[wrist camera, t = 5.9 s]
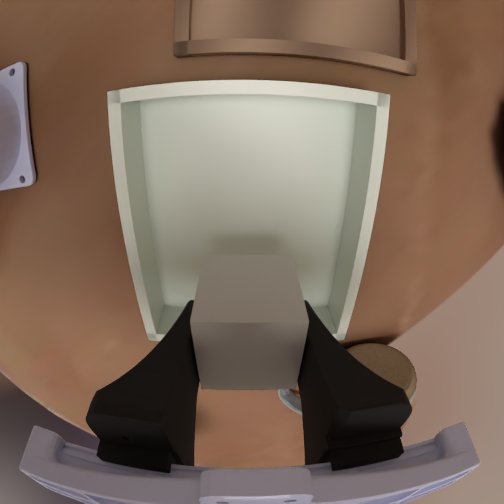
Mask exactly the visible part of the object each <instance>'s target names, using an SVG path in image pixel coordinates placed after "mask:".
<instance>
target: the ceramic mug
mask: <svg viewBox="0 0 504 504" xmlns="http://www.w3.org/2000/svg"><path fill="white" fill-rule="evenodd" d="M346 350H347V351H348V352H349V353H350V354H351V355H352V356H353V357H355V358H356V359H357V360H358V361H359V362H361V363H362V364H363V365H365V366H366V367H367V368H369V369H370V370H371V371H373V372H374V373H376V374H377V375H379V376H380V377H382V378H384V379H385V380H387V381H389V382H391V383H393V384H395V385H397V386H399V387H401V388H402V389H404V391H405V393H406V395H407V397H408V399H409V401H410V404H412V402H413V399H414V396H415V390H416V382H417V378H416V372H415V369H414V366H413V365H412V363H411V362H410V360H409V359H408V358H407V357H406V356H405V355H404V354H403V353H402V352H400V351H399V350H397V349H395V348H393V347H390V346H387V345H384V344H379V343H365V344H359V345H356V346H353V347H350V348H348V349H346ZM277 392H278V396H279V398H280V400H281V401H282V402H283V403H284V404H285V405H286V406H287V407H288V408H290V409H291V410H293V411H295V412H297V413H299V414H301V415H302V407H301V398H300V397H298V396H297V395H295V394H294V393H293V392H292V391H291V390H290V389H277Z"/></svg>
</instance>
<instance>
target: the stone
mask: <svg viewBox="0 0 504 504" xmlns="http://www.w3.org/2000/svg"><path fill="white" fill-rule="evenodd" d="M190 325H191V332H192V338H193V344H194V350H195V356H196V362H197V368H198V373H199V379H200V384H201V389H215V390H275V389H296V385H297V380H298V375H299V371H300V366H301V361H302V356H303V351H304V346H305V341H306V336H307V331H308V325H309V319H308V315H307V311H306V307H305V303H304V299H303V295H302V291H301V287H300V283H299V279H298V275H297V271H296V268H295V264H294V260H293V256H292V255H237V254H204V258H203V262H202V267H201V271H200V276H199V280H198V285H197V290H196V294H195V299H194V304H193V309H192V314H191V319H190Z"/></svg>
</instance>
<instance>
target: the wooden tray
mask: <svg viewBox="0 0 504 504" xmlns="http://www.w3.org/2000/svg"><path fill="white" fill-rule="evenodd" d="M173 55H174V56H176V57H178V58H179V57H191V56H208V55H273V56H290V57H302V58H312V59H321V60H329V61H336V62H343V63H349V64H355V65H361V66H366V67H371V68H376V69H381V70H385V71H390V72H394V73H398V74H402V75H406V76H416V65H417V23H416V2H415V0H175V15H174V52H173Z"/></svg>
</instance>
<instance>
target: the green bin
mask: <svg viewBox="0 0 504 504" xmlns="http://www.w3.org/2000/svg"><path fill="white" fill-rule="evenodd" d="M107 95H108V115H109V130H110V142H111V152H112V162H113V171H114V179H115V186H116V193H117V200H118V207H119V213H120V219H121V225H122V230H123V236H124V241H125V246H126V251H127V256H128V261H129V265H130V270H131V274H132V279H133V283H134V287H135V291H136V295H137V299H138V303H139V307H140V311H141V315H142V318H143V322H144V326H145V329H146V333H147V336H148V339H149V340H150V341H161V340H162V338H163V337H164V336H165V335H166V334H167V332H168V331H169V330H170V328H171V327H172V326H173V324H174V323H175V321H176V320H177V319H178V317H179V316H180V314H181V313H182V311H183V309H184V308H185V306H186V304H187V303H188V301H190V300H194V299H195V294H196V290H197V285H198V280H199V276H200V271H201V267H202V262H203V258H204V254H237V255H292V256H293V260H294V264H295V268H296V271H297V275H298V279H299V283H300V287H301V291H302V295H303V299H304V300H307V301H308V302H309V304H310V306H311V307H312V309H313V310H314V311H315V313H316V314H317V316H318V317H319V319H320V320H321V321H322V323H323V324H324V325H325V326H326V328H327V329H328V330H329V331H330V333H331V334H332V335H333V336H334V337H335V338H336V340H344V339H345V335H346V332H347V329H348V325H349V322H350V318H351V315H352V311H353V308H354V304H355V300H356V297H357V293H358V289H359V285H360V281H361V277H362V273H363V269H364V264H365V260H366V256H367V251H368V247H369V242H370V237H371V232H372V227H373V222H374V217H375V212H376V206H377V200H378V194H379V188H380V182H381V175H382V168H383V161H384V154H385V145H386V137H387V127H388V116H389V104H390V95H388V94H383V93H377V92H372V91H366V90H360V89H354V88H347V87H340V86H332V85H324V84H314V83H303V82H290V81H271V80H209V81H190V82H177V83H166V84H156V85H148V86H140V87H133V88H126V89H120V90H114V91H109V92H107Z"/></svg>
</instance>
